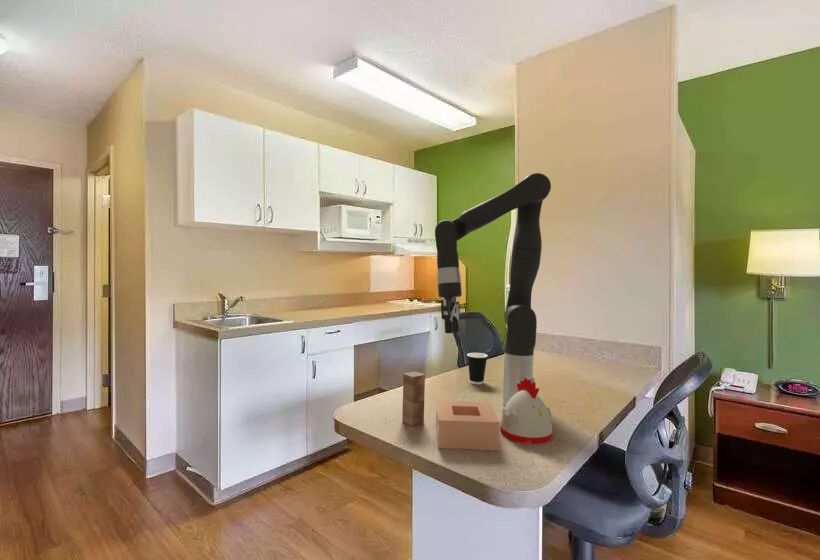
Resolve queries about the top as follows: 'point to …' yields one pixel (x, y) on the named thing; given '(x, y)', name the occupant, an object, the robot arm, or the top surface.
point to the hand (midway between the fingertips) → (452, 332)
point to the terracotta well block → (466, 425)
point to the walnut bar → (413, 398)
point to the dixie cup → (477, 367)
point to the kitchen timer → (526, 416)
